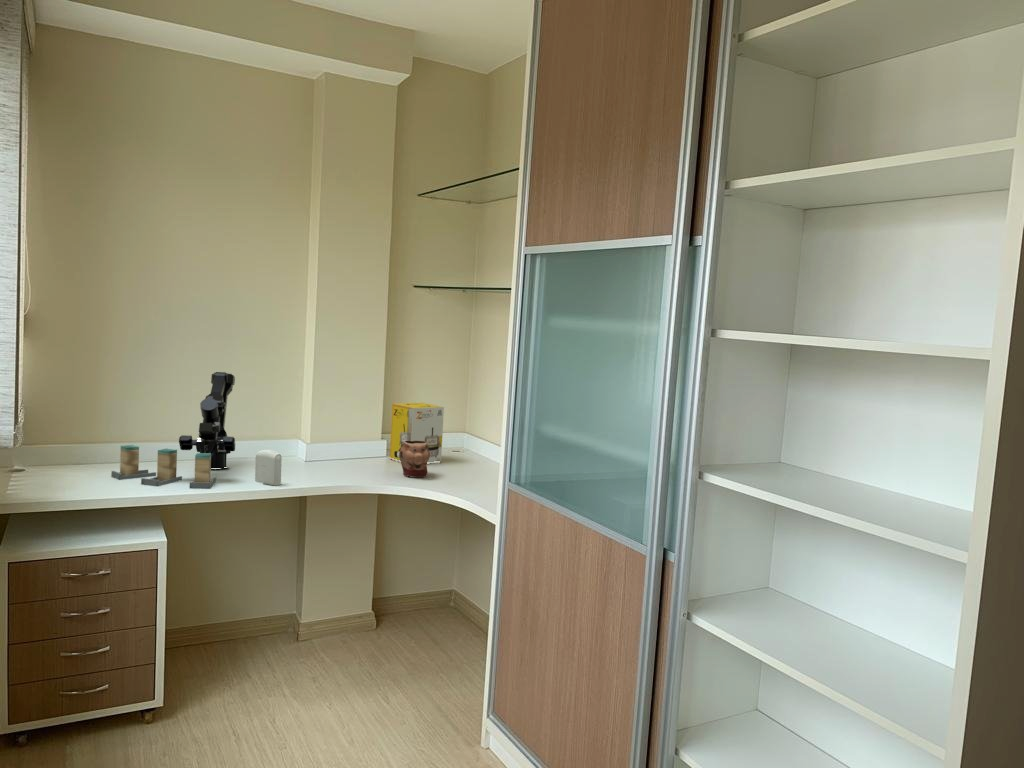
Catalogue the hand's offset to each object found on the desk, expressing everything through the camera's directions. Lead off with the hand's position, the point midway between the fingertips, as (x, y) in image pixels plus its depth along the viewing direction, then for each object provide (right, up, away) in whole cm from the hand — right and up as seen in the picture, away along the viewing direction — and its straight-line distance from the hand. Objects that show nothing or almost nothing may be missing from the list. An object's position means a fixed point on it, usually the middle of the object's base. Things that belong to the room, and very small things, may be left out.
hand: (204, 462), depth 289 cm
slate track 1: (-28, -6, +6) cm, 29 cm away
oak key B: (-14, -7, +2) cm, 16 cm away
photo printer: (+19, -9, +10) cm, 23 cm away
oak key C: (0, -8, -2) cm, 8 cm away
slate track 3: (0, -8, -1) cm, 8 cm away
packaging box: (+66, -7, +72) cm, 98 cm away
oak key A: (-29, -5, +5) cm, 30 cm away
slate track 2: (-15, -7, 0) cm, 17 cm away
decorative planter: (+69, -9, +41) cm, 81 cm away
